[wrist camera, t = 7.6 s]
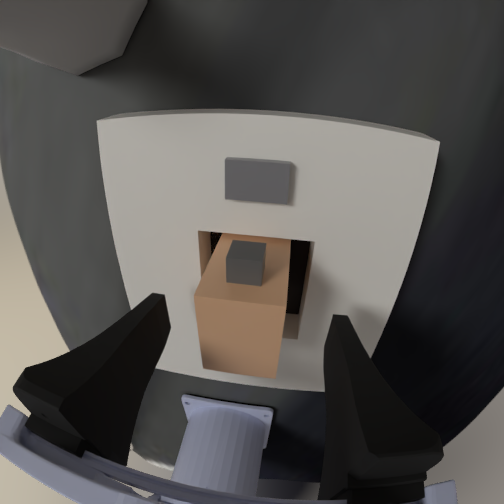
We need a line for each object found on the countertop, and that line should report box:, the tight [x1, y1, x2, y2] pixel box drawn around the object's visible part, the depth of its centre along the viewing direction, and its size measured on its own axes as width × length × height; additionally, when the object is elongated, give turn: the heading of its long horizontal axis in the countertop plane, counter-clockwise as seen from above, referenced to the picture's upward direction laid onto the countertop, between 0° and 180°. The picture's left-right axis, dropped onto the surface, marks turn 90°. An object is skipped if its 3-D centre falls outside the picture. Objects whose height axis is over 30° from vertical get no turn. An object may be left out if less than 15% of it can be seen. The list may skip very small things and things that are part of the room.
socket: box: [97, 109, 440, 392], centre depth 15 cm, size 16×14×2 cm
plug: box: [194, 233, 291, 379], centre depth 13 cm, size 5×3×6 cm, turn 178°
